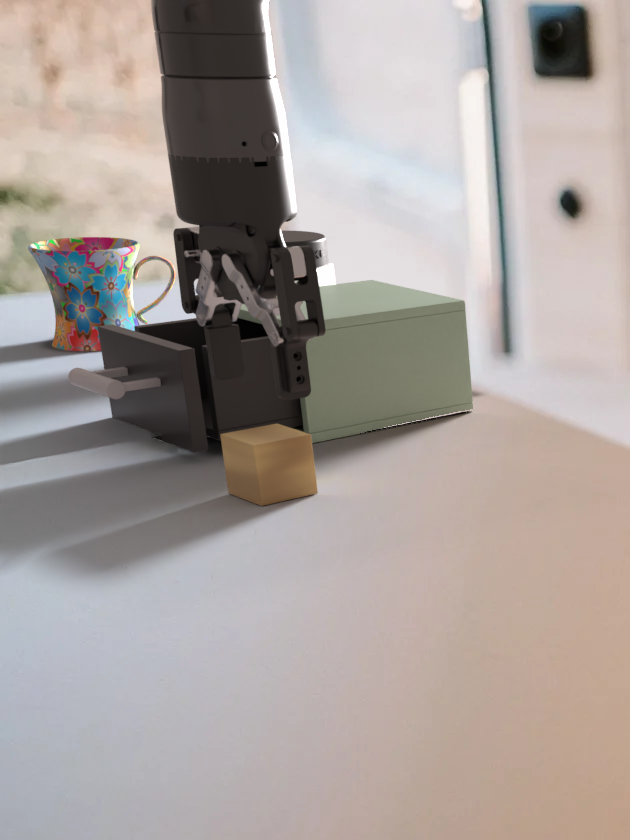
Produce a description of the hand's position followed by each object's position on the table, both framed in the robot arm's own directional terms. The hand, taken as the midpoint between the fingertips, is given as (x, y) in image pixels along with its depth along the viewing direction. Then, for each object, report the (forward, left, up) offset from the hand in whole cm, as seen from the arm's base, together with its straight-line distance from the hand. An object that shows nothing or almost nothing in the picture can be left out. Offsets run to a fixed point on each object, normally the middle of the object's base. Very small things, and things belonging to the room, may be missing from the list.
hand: (261, 387), depth 113 cm
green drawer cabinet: (+17, +17, -8) cm, 25 cm away
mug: (+14, +51, -8) cm, 54 cm away
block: (0, 0, -8) cm, 8 cm away
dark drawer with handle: (+5, +17, -7) cm, 19 cm away
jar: (+24, +37, -8) cm, 45 cm away
